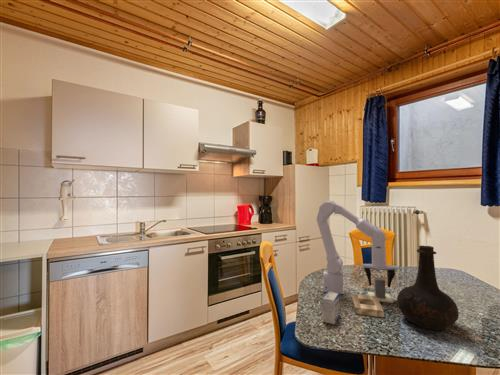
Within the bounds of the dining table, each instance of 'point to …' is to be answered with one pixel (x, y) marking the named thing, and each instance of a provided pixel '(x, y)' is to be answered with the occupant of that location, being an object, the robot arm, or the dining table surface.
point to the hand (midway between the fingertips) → (379, 285)
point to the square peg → (379, 287)
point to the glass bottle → (427, 297)
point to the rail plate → (367, 305)
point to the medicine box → (330, 307)
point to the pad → (387, 298)
